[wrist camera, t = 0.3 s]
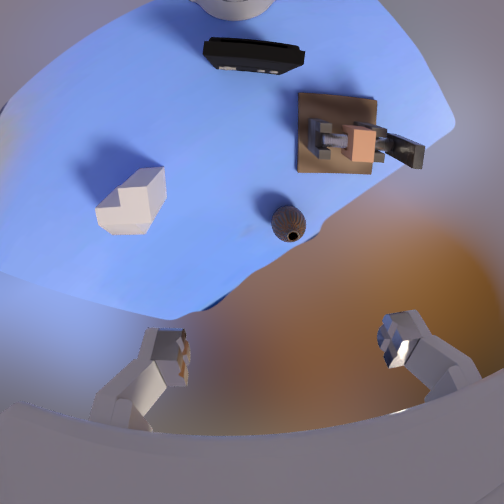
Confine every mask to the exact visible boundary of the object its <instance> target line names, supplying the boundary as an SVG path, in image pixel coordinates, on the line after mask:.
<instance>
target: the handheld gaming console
mask: <svg viewBox="0 0 504 504" xmlns="http://www.w3.org/2000/svg"><path fill="white" fill-rule="evenodd" d="M203 55H204V56H205V57H206V59H207V60H208V61H209V62H210V63H211V64H212V65H213V66H214V67H215V68H216V69H223V70H237V71H249V72H259V73H268V74H276V75H281V74H283V73H286V72H288V71H290V70H292V69H294V68H297V67H299V66H302V65H303V64H304V57H305V51H301V50H300V49H299V47H298V46H296V45H290V44H283V43H276V42H269V41H260V40H251V39H238V38H220V37H211V38H210V39H209V41H204V48H203Z"/></svg>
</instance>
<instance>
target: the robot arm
mask: <svg viewBox="0 0 504 504" xmlns="http://www.w3.org/2000/svg"><path fill="white" fill-rule="evenodd" d="M190 1H192V2H195V3H197V4H199V5H200V6H201V7H202V8H203V10H205V11H206V12H207V13H208V14H210V15H212V16H214V17H216V18H219V19H222V20H228V21H241V20H247V19H250V18H253V17H256V16H258V15H260V14H261V13H263V12H264V11H266V10H267V9H268V8H269V7H270V5H271V4H272V3H273V2H274V1H275V0H190ZM382 321H383V323H384V324H383V325H382V326H381V327H380V328H379V330H378V333H377V341H378V345H379V347H380V349H381V350H383V351H384V352H385V353H384V356H383V357H384V359H385V362H386V364H387V367H388V368H393V367H398V366H403V365H405V367H406V368H407V369H408V370H409V371H410V372H411V373H413V374H414V375H415V376H416V377H417V378H418V379H419V380H420V381H421V382H422V383H424V384H425V385H426V386H427V387H428V388H429V389H430V390H431V391H430V392H429V394H428V395H427V396H426V397H425V399H424V400H425V403H423V404H420V405H417V406H414V407H411V408H408V409H405V410H402V411H398V412H395V413H391V414H387V415H384V416H380V417H376V418H372V419H368V420H364V421H359V422H354V423H349V424H345V425H339V426H334V427H328V428H322V429H315V430H308V431H301V432H291V433H282V434H269V435H251V436H197V435H179V434H167V433H157V432H152V430H153V428H152V427H151V426H150V425H149V423H148V422H147V421H146V420H145V418H144V415H145V414H146V413H147V412H148V410H149V409H150V408H151V407H152V405H153V404H154V403H155V402H156V400H157V399H158V398H159V397H160V395H161V394H162V393H163V392H164V390H165V389H166V388H167V387H166V386H174V387H175V386H176V387H187V382H188V374H189V373H188V370H187V366H188V365H189V364H190V346H189V343H188V341H187V340H186V332H185V329H179V328H178V329H177V328H149V327H148V328H147V329H146V330H145V334H144V337H143V341H142V344H141V347H140V351H139V355H138V358H137V359H134V360H133V361H131V362H130V363H129V364H128V365H127V366H126V367H125V368H124V369H123V370H122V371H120V373H118V374H117V375H116V376H115V377H114V378H113V379H112V380H111V381H109V382H108V383H107V384H106V385H105V386H104V387H103V388H102V389H101V390H100V391H99V392H97V393H96V396H95V399H94V402H93V406H92V409H91V413H90V417H89V420H88V421H87V420H83V419H79V418H75V417H72V416H68V415H64V414H61V413H57V412H54V411H51V410H48V409H44V408H42V407H39V406H36V405H33V404H30V403H28V402H24V401H18V402H16V403H14V404H13V405H11V406H10V407H8V408H7V409H6V410H4V411H3V412H2V413H0V504H504V368H503V369H501V370H499V371H497V372H496V373H494V374H492V375H490V376H488V377H486V378H484V379H482V378H481V376H480V374H479V372H478V370H477V368H476V366H475V365H474V363H473V361H472V359H471V358H469V357H468V356H466V355H465V354H463V353H462V352H460V351H459V350H457V349H456V348H454V347H452V346H451V345H449V344H448V343H446V342H445V341H443V340H442V339H440V338H439V337H437V336H436V335H432V334H431V333H430V331H429V329H428V327H427V326H426V324H425V322H424V321H423V319H422V318H421V316H420V314H419V313H418V311H416V310H410V311H403V312H397V313H391V314H386V315H385V316H384V318H383V320H382Z"/></svg>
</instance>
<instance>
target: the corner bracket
mask: <svg viewBox="0 0 504 504" xmlns="http://www.w3.org/2000/svg"><path fill="white" fill-rule="evenodd" d="M166 198H167V193H166V182H165V170H164V167H152V168H140V169H138V170H137V171H136V172H135V173H134V174H133V175H132V176H131V177H129V178H128V179H127V180H126V181H125V182H124V183H123V184H122V185H119V186H117V187H116V188H115V189H114V190H113V191H112V192H111V193H110V194H109V195H108V196H107V197H106V198H105V199H104V200H103V201H102V202H101V203H100V204H99V205H98V206H97V207H96V208H95V211H96V216H97V220H98V225H99V226H101V227H102V228H103V229H105V230H106V231H108V232H109V233H110V234H112V235H135V234H146V232H147V231H148V229H149V227H150V225H151V223H152V222H153V220H154V219H155V217H156V215H157V213H158V212H159V210H160V208H161V207H162V205H163V203H164V202H165V200H166Z"/></svg>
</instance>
